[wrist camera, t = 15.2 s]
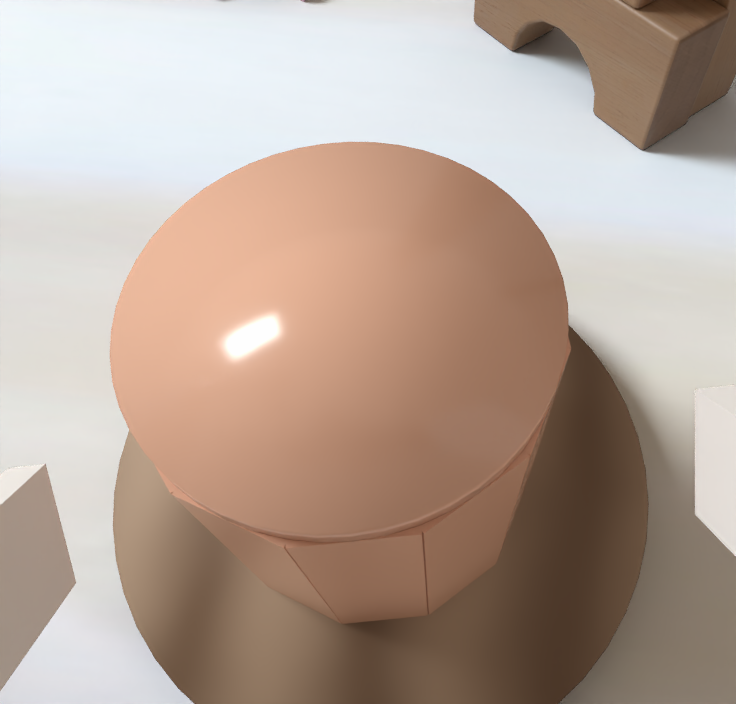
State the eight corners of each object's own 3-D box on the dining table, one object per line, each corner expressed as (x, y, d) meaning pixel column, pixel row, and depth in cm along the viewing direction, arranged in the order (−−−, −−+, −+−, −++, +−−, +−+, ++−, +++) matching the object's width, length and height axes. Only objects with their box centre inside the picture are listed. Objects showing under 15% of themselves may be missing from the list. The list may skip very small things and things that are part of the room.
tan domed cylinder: (225, 635, 24) (81, 558, 14) (231, 357, 29) (132, 167, 20) (547, 603, 23) (624, 502, 14) (492, 327, 29) (519, 119, 19)
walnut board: (100, 798, 23) (80, 801, 21) (149, 300, 33) (137, 281, 32) (712, 742, 22) (729, 742, 21) (570, 251, 32) (576, 230, 31)
